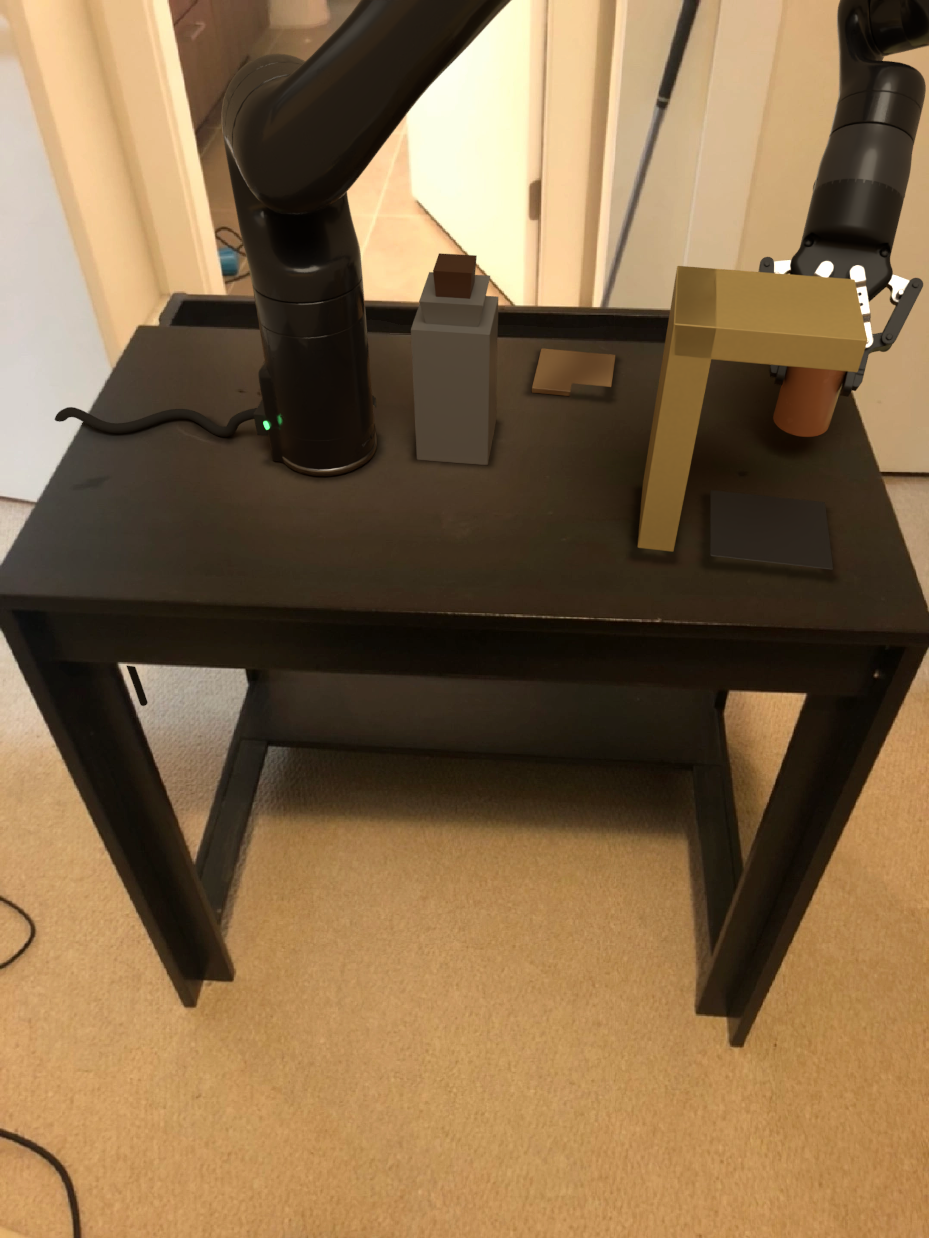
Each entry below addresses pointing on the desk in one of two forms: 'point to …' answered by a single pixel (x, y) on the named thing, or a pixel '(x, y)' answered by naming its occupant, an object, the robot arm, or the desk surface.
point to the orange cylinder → (807, 400)
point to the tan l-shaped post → (754, 333)
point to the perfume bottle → (455, 363)
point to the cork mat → (571, 371)
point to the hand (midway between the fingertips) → (812, 387)
